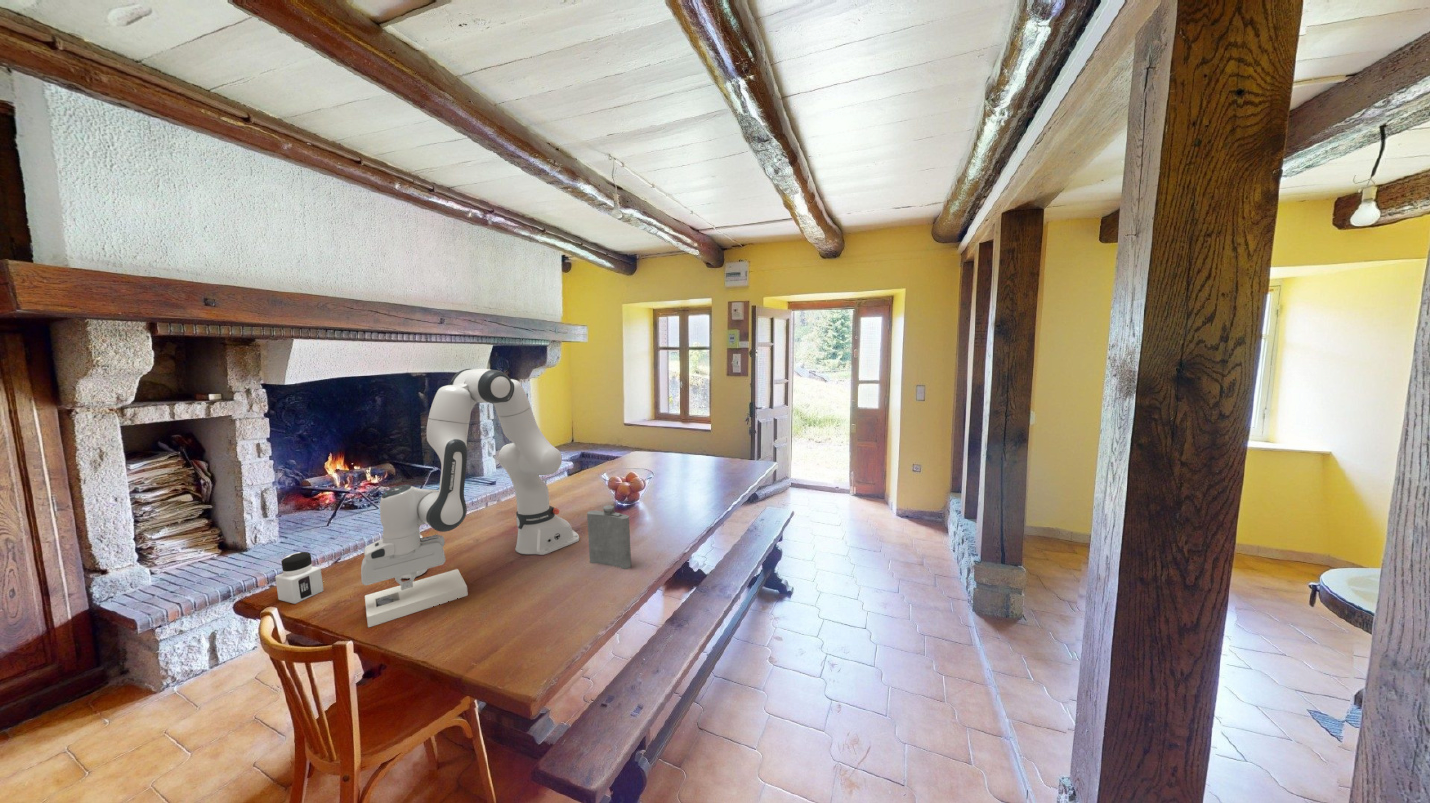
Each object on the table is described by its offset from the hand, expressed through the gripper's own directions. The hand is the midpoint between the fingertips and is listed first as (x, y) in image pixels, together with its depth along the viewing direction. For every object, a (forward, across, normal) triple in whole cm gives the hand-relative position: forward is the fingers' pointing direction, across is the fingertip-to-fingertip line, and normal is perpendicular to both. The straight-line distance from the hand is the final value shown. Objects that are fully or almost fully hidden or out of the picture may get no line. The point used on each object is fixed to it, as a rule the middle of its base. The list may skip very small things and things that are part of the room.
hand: (407, 587), depth 133 cm
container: (+5, +25, -27) cm, 37 cm away
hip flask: (+5, -56, +17) cm, 59 cm away
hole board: (+5, -2, 0) cm, 5 cm away
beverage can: (+5, -3, -20) cm, 21 cm away
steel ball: (+3, +6, 0) cm, 6 cm away
